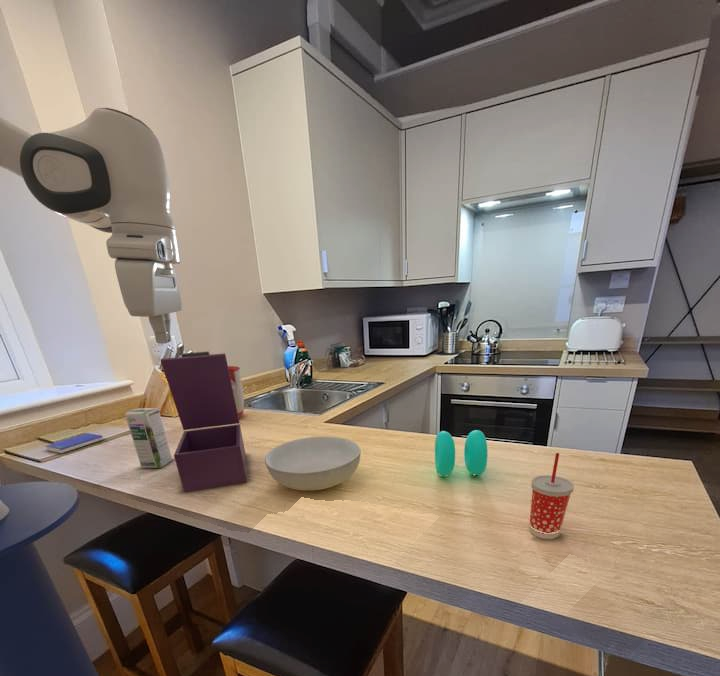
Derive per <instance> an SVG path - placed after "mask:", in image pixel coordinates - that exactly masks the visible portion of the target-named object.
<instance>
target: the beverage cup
mask: <svg viewBox="0 0 720 676" xmlns="http://www.w3.org/2000/svg"><path fill="white" fill-rule="evenodd" d="M559 458H560V452H555V457H554V462H553V468H552V473H551V475H550V474H543V475H537V476H534V477H533V478H532V479H531V484H530V487H531V490H532V491H531V499H530V500H531V502H530V515H529V526H528V528H529V529H528V531H529V533H531V535H533V536H534V537H537V538H540V539H542V540H543V539H544V540H554V539H556V538H558V537H559V536H560V533H561V530H562V526H563V522H564V518H565V515H566V512H567V508H568V504H569V501H570V498H571V494H573V492H574V489H575V485H574V483H573V482H572V481H571V480H569V479H567V478H564V477H561V476H558V475H557V470H558V465H559V464H558V463H559ZM530 525H531V526H532V527H533V528H535V529H537V530H539V531H542V532H546V533H552V532H557V531H559V530H560V529H561V530H560V531H559V532H558V533H555V534H544V533H540V532H537V531H535V530H534V529H532V528H531V527H530Z"/></svg>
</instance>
